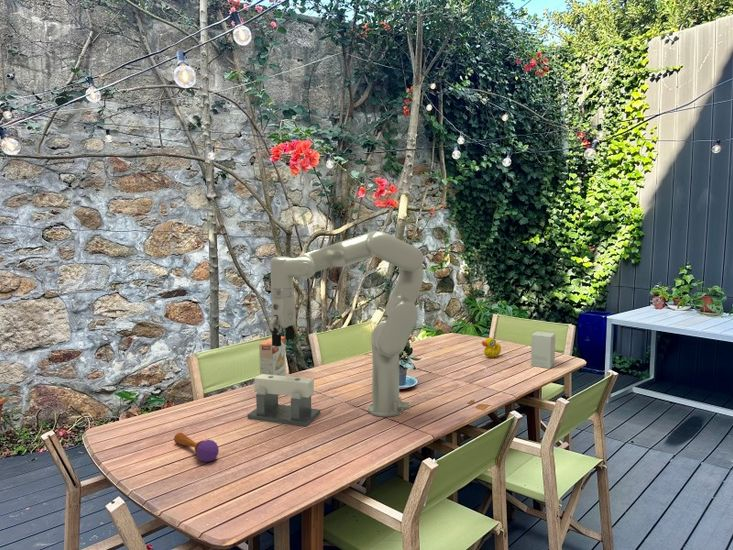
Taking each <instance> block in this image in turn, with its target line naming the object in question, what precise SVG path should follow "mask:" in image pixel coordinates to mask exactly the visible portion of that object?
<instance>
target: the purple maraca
mask: <svg viewBox="0 0 733 550" xmlns="http://www.w3.org/2000/svg"><path fill="white" fill-rule="evenodd" d="M173 441H174V443H176V444H177V443H178V444H179V445H183V446H187V447H192V448H194V452H195V454H196V456H197V457H198V459H199V460H200V461H201V462H204V463H209V462H211V461H214V460H216V458H217V457H218V455H219V445H218V444H217V442H215V441H214V440H212V439H206V440H200V441H199V442H195V441H194V440H192V439H191V438H190V437H188V436H187V435H186V434H184V433H183V432H177V433H176V434H175V435H174V436H173Z"/></svg>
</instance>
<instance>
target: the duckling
mask: <svg viewBox="0 0 733 550" xmlns="http://www.w3.org/2000/svg"><path fill="white" fill-rule="evenodd" d="M481 344H482V345H481V346H483V347H485V348H484V349H483V350H484V351H483V354H484V355H485V356H486V357H487V358H489V359H493V358H497V357H498V356H499V355H500V354H501V351H502V346H501V345H500V343H497V340H496V339H495V338H493V337H487V338H486V339H485V340H482V341H481Z"/></svg>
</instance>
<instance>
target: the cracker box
mask: <svg viewBox="0 0 733 550" xmlns="http://www.w3.org/2000/svg"><path fill="white" fill-rule="evenodd" d="M260 374H267V375H278V376H286V338H285V336H281V346H272V336H271V337H269V338H267V339H266V340H264V341H262V342H260V343H259V375H260Z"/></svg>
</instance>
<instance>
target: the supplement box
mask: <svg viewBox="0 0 733 550" xmlns="http://www.w3.org/2000/svg"><path fill="white" fill-rule="evenodd" d="M530 348H531V350H530V351H531V352H530V353H531V356H530V366H532V367H537V368H544V369H551V368H552V367H553V366H554V365H555V359H556V358H555V355H556V333H555V332H546V331H540V330H539V331H535V332H533V333H532V334H531V347H530Z"/></svg>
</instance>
